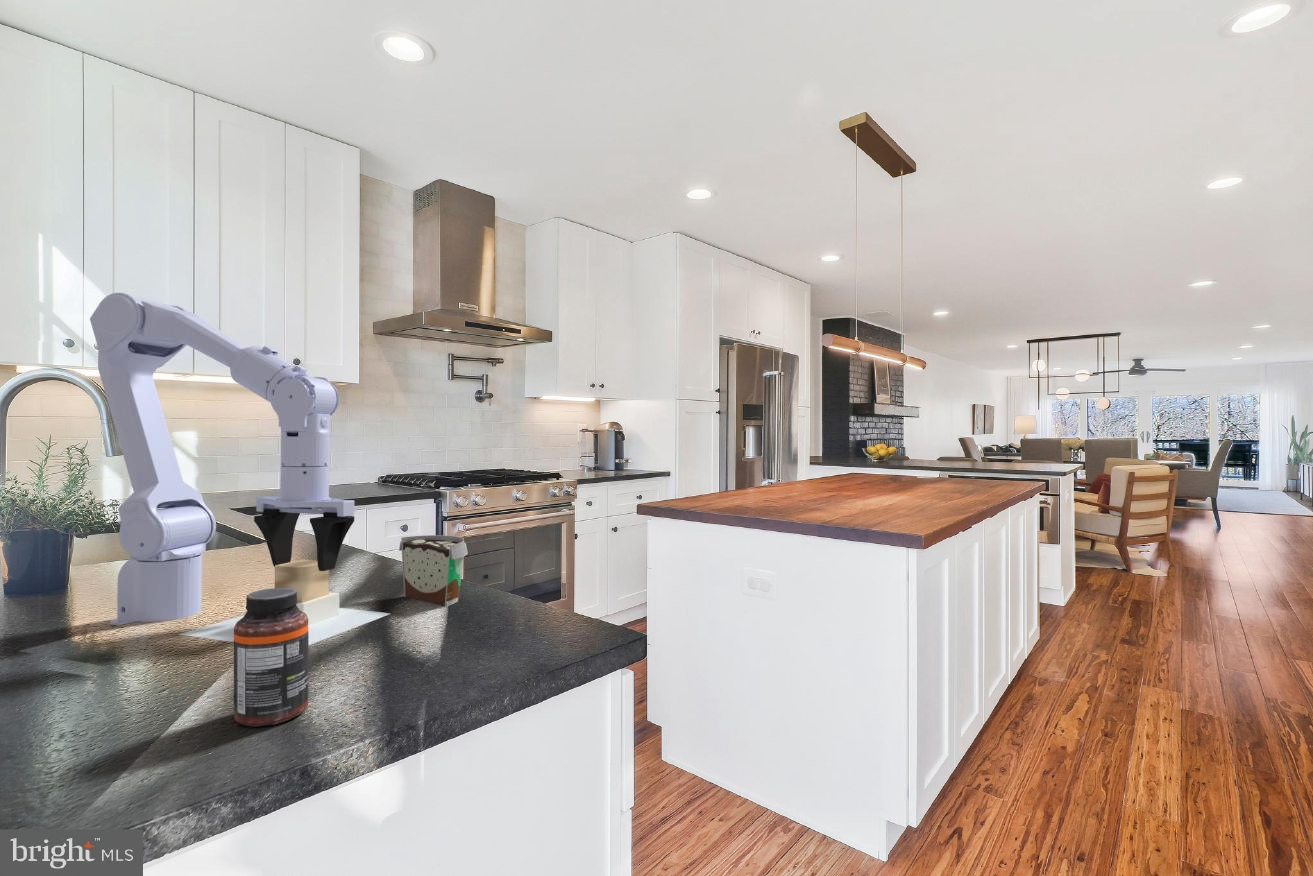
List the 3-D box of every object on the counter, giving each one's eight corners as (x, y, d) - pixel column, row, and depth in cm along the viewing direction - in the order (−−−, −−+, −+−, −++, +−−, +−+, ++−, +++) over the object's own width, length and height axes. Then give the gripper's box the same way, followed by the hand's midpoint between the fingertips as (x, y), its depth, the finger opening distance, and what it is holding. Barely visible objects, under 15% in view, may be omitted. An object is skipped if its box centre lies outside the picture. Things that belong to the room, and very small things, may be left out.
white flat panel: (178, 642, 78) (178, 634, 78) (288, 609, 94) (288, 602, 94) (294, 659, 73) (294, 650, 73) (390, 620, 88) (390, 613, 88)
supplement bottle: (255, 702, 61) (256, 584, 61) (319, 700, 62) (320, 584, 62) (218, 730, 55) (219, 600, 55) (289, 728, 56) (290, 600, 56)
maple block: (274, 599, 83) (274, 565, 83) (302, 591, 88) (302, 559, 88) (301, 602, 82) (302, 568, 82) (329, 594, 86) (329, 561, 86)
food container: (484, 605, 97) (485, 539, 97) (452, 614, 92) (452, 545, 92) (431, 593, 104) (432, 532, 103) (398, 601, 98) (399, 537, 98)
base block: (266, 623, 83) (266, 600, 83) (304, 611, 89) (304, 589, 89) (303, 627, 81) (303, 604, 81) (339, 615, 87) (339, 593, 87)
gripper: (236, 465, 83) (235, 569, 83) (325, 468, 79) (324, 578, 79) (282, 463, 90) (281, 559, 90) (366, 466, 86) (365, 567, 86)
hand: (304, 567), depth 85 cm, fingers open, 7 cm apart
